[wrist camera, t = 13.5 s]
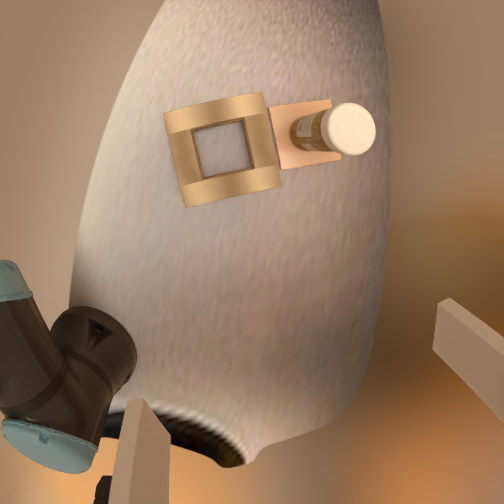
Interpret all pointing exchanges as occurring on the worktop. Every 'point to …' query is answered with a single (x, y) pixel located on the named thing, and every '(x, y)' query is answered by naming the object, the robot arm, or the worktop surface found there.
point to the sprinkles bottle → (335, 130)
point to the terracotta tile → (281, 130)
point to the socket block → (230, 183)
